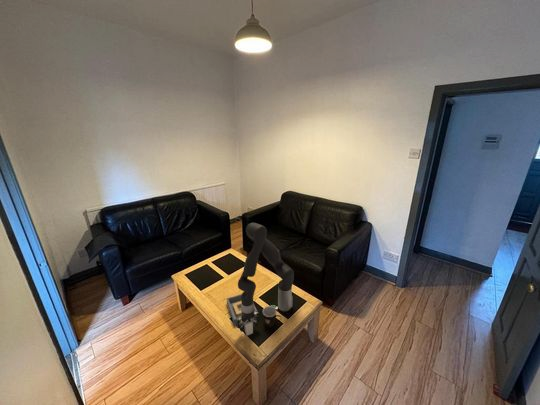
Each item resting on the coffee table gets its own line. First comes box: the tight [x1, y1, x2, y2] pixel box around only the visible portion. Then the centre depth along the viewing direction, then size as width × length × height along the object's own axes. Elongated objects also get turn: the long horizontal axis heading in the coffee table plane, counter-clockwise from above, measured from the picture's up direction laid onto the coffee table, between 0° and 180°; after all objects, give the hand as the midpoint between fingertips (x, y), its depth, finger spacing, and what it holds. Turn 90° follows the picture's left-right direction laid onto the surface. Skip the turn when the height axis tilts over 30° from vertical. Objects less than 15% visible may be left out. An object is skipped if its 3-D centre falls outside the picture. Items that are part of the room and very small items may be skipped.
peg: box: [243, 321, 254, 336], centre depth 135 cm, size 4×4×9 cm
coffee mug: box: [262, 305, 282, 328], centre depth 140 cm, size 12×9×10 cm
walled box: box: [226, 293, 258, 326], centre depth 152 cm, size 16×20×5 cm
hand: (248, 328), depth 136 cm, fingers open, 8 cm apart
